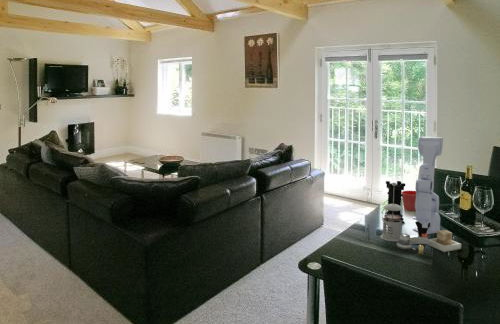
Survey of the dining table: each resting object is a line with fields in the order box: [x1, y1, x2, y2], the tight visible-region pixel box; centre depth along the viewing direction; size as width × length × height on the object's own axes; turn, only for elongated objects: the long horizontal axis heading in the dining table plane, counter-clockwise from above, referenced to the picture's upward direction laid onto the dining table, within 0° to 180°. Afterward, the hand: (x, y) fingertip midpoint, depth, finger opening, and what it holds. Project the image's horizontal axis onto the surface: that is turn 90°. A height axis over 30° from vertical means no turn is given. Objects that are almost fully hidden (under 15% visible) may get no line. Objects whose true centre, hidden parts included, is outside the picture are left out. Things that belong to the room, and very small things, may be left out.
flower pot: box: [401, 190, 416, 212], centre depth 218 cm, size 11×11×10 cm
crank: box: [399, 233, 429, 245], centre depth 162 cm, size 11×4×4 cm, turn 88°
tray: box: [426, 237, 462, 253], centre depth 162 cm, size 9×9×2 cm
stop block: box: [436, 229, 453, 246], centre depth 161 cm, size 4×4×6 cm
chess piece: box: [383, 180, 406, 225], centre depth 196 cm, size 8×8×20 cm
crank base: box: [396, 241, 425, 256], centre depth 159 cm, size 6×12×4 cm, turn 20°
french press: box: [379, 182, 404, 242], centre depth 173 cm, size 10×12×25 cm
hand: (421, 238), depth 164 cm, fingers closed, pressing on crank
